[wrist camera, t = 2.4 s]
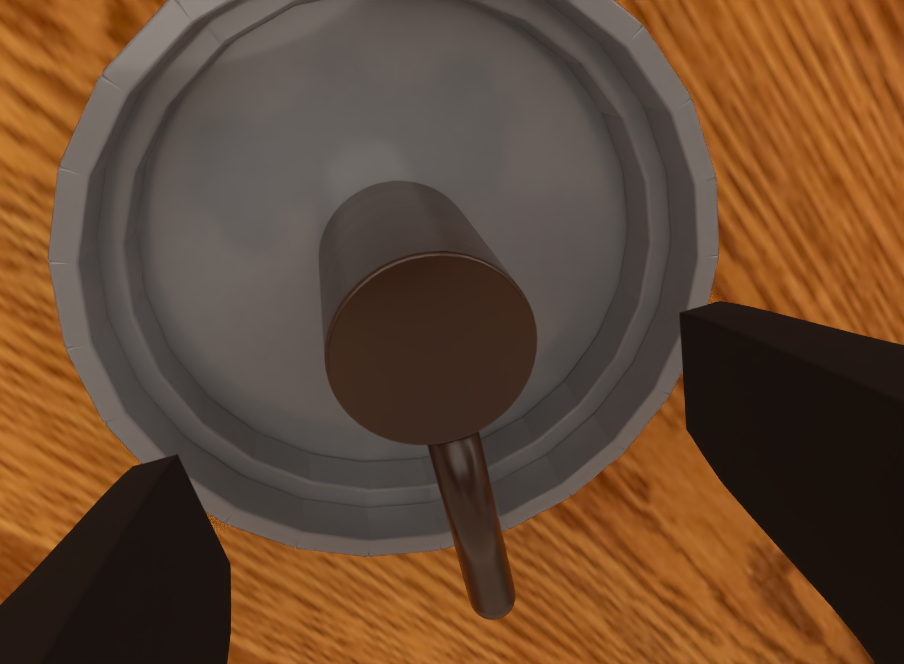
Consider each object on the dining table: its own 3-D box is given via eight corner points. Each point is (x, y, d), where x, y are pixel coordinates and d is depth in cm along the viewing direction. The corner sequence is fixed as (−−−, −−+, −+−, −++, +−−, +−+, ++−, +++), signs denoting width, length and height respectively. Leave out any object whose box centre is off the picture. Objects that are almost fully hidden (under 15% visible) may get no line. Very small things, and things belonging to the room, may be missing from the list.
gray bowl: (631, -128, 14) (707, -158, 11) (670, 404, 20) (726, 465, 17) (-24, 18, 13) (-108, 23, 10) (219, 534, 19) (206, 621, 16)
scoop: (457, 163, 15) (520, 226, 11) (519, 468, 19) (584, 607, 15) (297, 203, 15) (295, 286, 11) (392, 505, 19) (420, 658, 15)
